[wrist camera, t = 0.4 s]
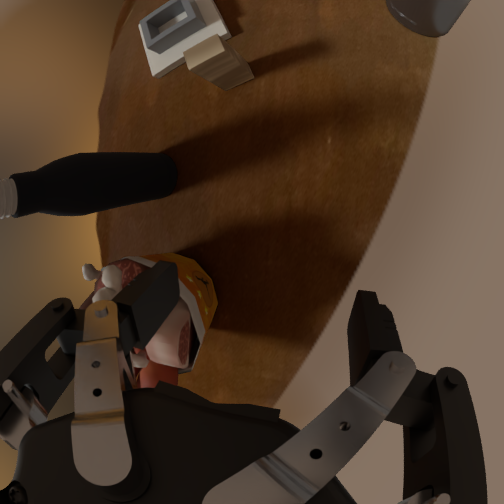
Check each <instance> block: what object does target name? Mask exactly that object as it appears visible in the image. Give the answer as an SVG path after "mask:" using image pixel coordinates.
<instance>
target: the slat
mask: <svg viewBox="0 0 504 504" xmlns="http://www.w3.org/2000/svg"><path fill="white" fill-rule="evenodd" d="M183 55H184V57H185V60H186V63H187V66H188V68H189V70H190V71H192V72H194V73H196V74H197V75H199V76H201V77H203V78H204V79H206V80H208V81H210V82H211V83H213V84H215V85H216V86H218V87H220V88H221V89H223V90H225V91H227V90H229V89H231V88H233V87H235V86H237V85H240V84H242V83H244V82H246V81H248V80H251V79H253V78H254V76H253V74H252V71H251V69H250V67H249V65H248V63H247V62H246V61H245V60H244V59H243V58H242V57H241V56H240V55H239V54H238V53H237V52H236V51H235V50H234V49H233V48H232V47H231V46H230V45H229V44H228V43H227V42H226V41H225V40H224V39H223V38H222V37H220V36H219V35H218V34H215V35H213V36H211V37H209V38H207V39H205V40H203V41H202V42H200V43H198V44H196V45H195V46H193V47H191V48H189V49H188V50H186V51H184V52H183Z"/></svg>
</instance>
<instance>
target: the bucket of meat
mask: <svg viewBox="0 0 504 504" xmlns="http://www.w3.org/2000/svg"><path fill="white" fill-rule="evenodd" d="M159 260H163V261H169V262H174V263H176V265H177V269H178V279H179V288H180V297H179V301H178V303H177V305H176V306H175V308H174V309H173V310H172V312H171V313H170V314H169V316H168V317H167V318H166V320H165V321H164V322H163V324H162V325H161V327H160V328H159V329H158V331H157V332H156V333H155V335H154V336H153V338H152V339H151V340H150V342H149V343H148V344H147V346H146V347H145V349H144V350H141V349H138V348H135V347H133V348H132V350H131V354H132V359H133V365H134V371H135V376H136V377H137V375H138V373H139V376H138V379H137V387H138V388H145V387H151V388H155V386H156V385H157V383H158V381H159V380H160V381H163V382H166V383H170V384H173V385H176V386H177V385H178V374H181V373H186V372H191V370H192V368H193V366H194V364H195V361H196V358H197V355H198V353H199V350H200V348H201V345H202V343H203V341H204V338H205V336H206V334H207V331H208V329H209V327H210V324H211V322H212V319H213V316H214V313H215V311H216V308H217V305H218V301H217V297H216V293H215V290H214V286H213V282H212V279H211V278H210V277H209V276H208V275H207V274H206V272H205V271H204V270H203V269H202V268H201V267H200V266H199V265H198V263H197V262H196V261H195V260H193V259H190V258H187V257H184V256H181V255H178V254H175V253H164V254H155V255H146V256H137V257H132V256H129V257H124V258H122V259H120V260H118V261H115V262H112V263H109V265H108V266H106V267H104V268H102V269H101V271H98V270H96V269H95V268H94V266H93V265H92V264H85V265H84V266H83V267H82V270H83V275H84V279H86V280H89V281H91V280H93V279H97V281H96V282H95V289H94V291H93V292H92V293H91V295H90V296H89V297H88V298H87V299H86V300H85V301H84V303H83V304H82V305H81V307H80V308H79V309H85V310H86V309H87V307H88V306H89V305H91V304H92V303H94V302H96V301H99V300H112V299H113V298H114V297H115V296H116V295H117V294H118V293H119V292H120V291H121V290H122V289H123V288H124V287H125V286H126V285H128V283H129V282H130V281H133V279H134V278H135V277H136V276H137V275H138V274H139V273H141V272H143V271H145V270H147V269H151V268H152V267H153V266H154V265H155V264H156V263H157V262H158V261H159ZM139 371H140V372H139Z"/></svg>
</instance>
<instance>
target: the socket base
mask: <svg viewBox="0 0 504 504" xmlns="http://www.w3.org/2000/svg"><path fill="white" fill-rule="evenodd" d="M138 26H139V29H140V33H141V37H142V40H143V44H144V48H145V51H146V55H147V58H148V62H149V65H150V69H151V72H152V76H153V77H156V78H161V77H162V76H164V75H165V74H167V73H168V72H170V71H171V70H173V69H175V68H176V67H178V66H179V65H181V64H183V63H184V62H186V60H185V57H184V55H183V52H184V51H186V50H188V49H189V48H191V47H193V46H195V45H196V44H198V43H200V42H202V41H203V40H205V39H207V38H209V37H211V36H213V35H215V34H218V35H219V36H220V37H222V38H223V39H224V40H227V39H229V38H231V37H232V36H231V34H230V32H229V30H228V28H227V26H226V24H225V22H224V20H223V18H222V16H221V14H220V12H219V10H218V8H217V6H216V4H215V2H214V1H213V0H170V1H169V2H167V3H166V4H164V5H162V6H161V7H159V8H158V9H156V10H155V11H153V12H152V13H151V14H149V15H148V16H146V17H145V18H144V19H142V20H141V21H140V24H139V25H138Z"/></svg>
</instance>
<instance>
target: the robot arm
mask: <svg viewBox="0 0 504 504" xmlns="http://www.w3.org/2000/svg"><path fill="white" fill-rule="evenodd" d="M469 2H470V0H386V4H387V7H388V9H389V11H390V12H391V14H392V15H393V16H394V17H395V18H396V19H397V20H398V21H399V22H400V23H401V24H403V25H404V26H405V27H407V28H409V29H410V30H412V31H414V32H416V33H419V34H422V35H425V36H431V37H439V36H443V35H445V34H447V33H448V31H449V30H450V29H451V27H452V26H453V25H454V23H455V22H456V20H457V19H458V18H459V16H460V15H461V13H462V12H463V11H464V9H465V8H466V6H467V5H468V3H469ZM179 297H180V288H179V279H178V269H177V265H176V263H174V262H169V261H163V260H159V261H158V262H157V263H156V264H155V265H154V266H153V267H152V268H151V269H147V270H145V271H143V272H141V273H139V274H138V275H137V276H136V277H135V278H134V279H133V281H130V282H129V283H128V285H126V286H125V287H124V288H123V289H122V290H121V291H120V292H119V293H118V294H117V295H116V296H115V297H114V298H113V299H112V300H99V301H96V302H94V303H92V304H91V305H89V306H88V307H87V309H86V310H85V309H74V307H73V304H72V302H71V300H70V299H68V298H57V299H54V300H52V301H51V302H50V303H48V304H47V305H46V306H45V307H44V308H43V309H42V310H41V311H40V312H39V313H38V314H37V315H36V316H34V317H33V318H32V319H31V320H30V321H29V322H28V323H27V324H26V325H25V326H24V327H23V328H22V329H21V330H20V332H18V333H17V334H16V335H15V336H14V338H13V339H11V341H10V342H9V343H8V344H7V345H6V346H5V347H4V348H3V349H2V350H1V351H0V438H1V439H3V440H4V441H5V442H6V443H7V444H8V445H9V446H10V447H12V448H13V449H15V450H18V459H17V465H16V470H15V473H14V477H13V480H12V482H11V483H10V484H9V485H8V486H7V487H6V488H4V489H3V490H0V504H357V503H356V502H355V501H354V499H353V498H352V497H351V495H350V494H349V493H348V492H347V490H346V489H345V488H344V486H343V485H342V484H341V482H340V481H339V480H338V478H337V477H336V474H337V473H338V472H339V471H340V470H341V469H342V468H343V467H344V466H345V465H346V464H347V463H348V462H349V461H350V459H351V458H352V457H353V456H354V455H355V454H356V453H357V452H358V451H359V449H360V448H361V447H362V446H363V445H364V444H365V443H366V441H367V440H368V439H369V438H370V437H371V435H372V434H373V433H374V431H376V429H377V428H378V427H379V425H380V424H381V423H382V422H383V420H386V421H390V422H393V423H396V424H400V425H403V438H404V486H403V501H401V502H399V503H398V504H487V484H486V473H485V465H484V457H483V450H482V444H481V438H480V433H479V428H478V423H477V419H476V415H475V410H474V406H473V402H472V399H471V395H470V392H469V388H468V384H467V381H466V379H465V377H464V375H463V374H462V373H461V372H460V371H458V370H457V369H454V368H451V367H444V368H441V369H440V370H439V371H438V372H437V374H436V375H432V374H428V373H425V372H422V371H419V370H417V369H416V365H415V363H414V361H413V360H412V359H411V358H410V357H409V356H408V355H406V354H404V353H403V350H402V346H401V342H400V339H399V335H398V331H397V330H396V325H395V323H394V318H393V315H392V312H391V311H390V310H389V309H388V308H387V307H386V305H382V304H379V302H378V298H377V295H376V292H372V291H363V290H358V292H357V294H356V298H355V301H354V305H353V308H352V311H351V315H350V318H349V322H348V329H347V335H348V349H349V366H350V386H349V387H348V388H347V389H346V390H345V391H344V392H343V393H342V394H341V395H340V396H339V397H338V398H337V399H336V400H334V401H333V402H332V403H331V404H330V405H329V406H328V407H327V408H326V409H325V410H324V411H323V412H322V413H320V414H319V415H318V416H317V417H316V418H315V419H314V420H312V421H311V422H310V423H309V424H308V425H307V426H305V427H304V428H303V429H302V430H300V429H299V428H297V427H296V426H294V425H293V424H291V423H289V422H287V421H285V420H282V419H280V418H279V414H280V409H274V408H268V407H262V406H257V405H252V404H218V403H213V402H210V401H208V400H206V399H204V398H203V397H201V396H199V395H197V394H195V393H193V392H191V391H190V390H188V389H186V388H183V387H179V386H176V385H173V384H170V383H166V382H163V381H160V380H159V381H158V383H157V385H156V386H155V388H151V387H145V388H138V387H137V382H136V376H135V371H134V365H133V359H132V354H131V350H132V348H133V347H135V348H138V349H141V350H144V349H145V347H146V346H147V344H148V343H149V342H150V340H151V339H152V338H153V336H154V335H155V333H156V332H157V331H158V329H159V328H160V327H161V325H162V324H163V322H164V321H165V320H166V318H167V317H168V316H169V314H170V313H171V312H172V310H173V309H174V308H175V306H176V305H177V303H178V301H179ZM56 338H57V340H58V342H59V344H60V348H59V349H58V350H57V351H56V352H55V354H54V355H53V356H52V357H51V358H50V360H49V361H48V362H46V360H45V351H46V349H47V348H48V346H50V344H51V343H52V342H53V341H54V340H55V339H56ZM74 376H75V412H73V413H70V414H67V415H64V416H61V417H58V418H55V419H53V420H50V421H47V417H48V416H47V415H48V414H49V412H50V410H51V409H52V408H53V406H54V405H55V403H56V402H57V400H58V399H59V397H60V396H61V395H62V393H63V392H64V390H65V389H66V388H67V386H68V385H69V383H70V382H71V381H72V379H73V378H74Z"/></svg>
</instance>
